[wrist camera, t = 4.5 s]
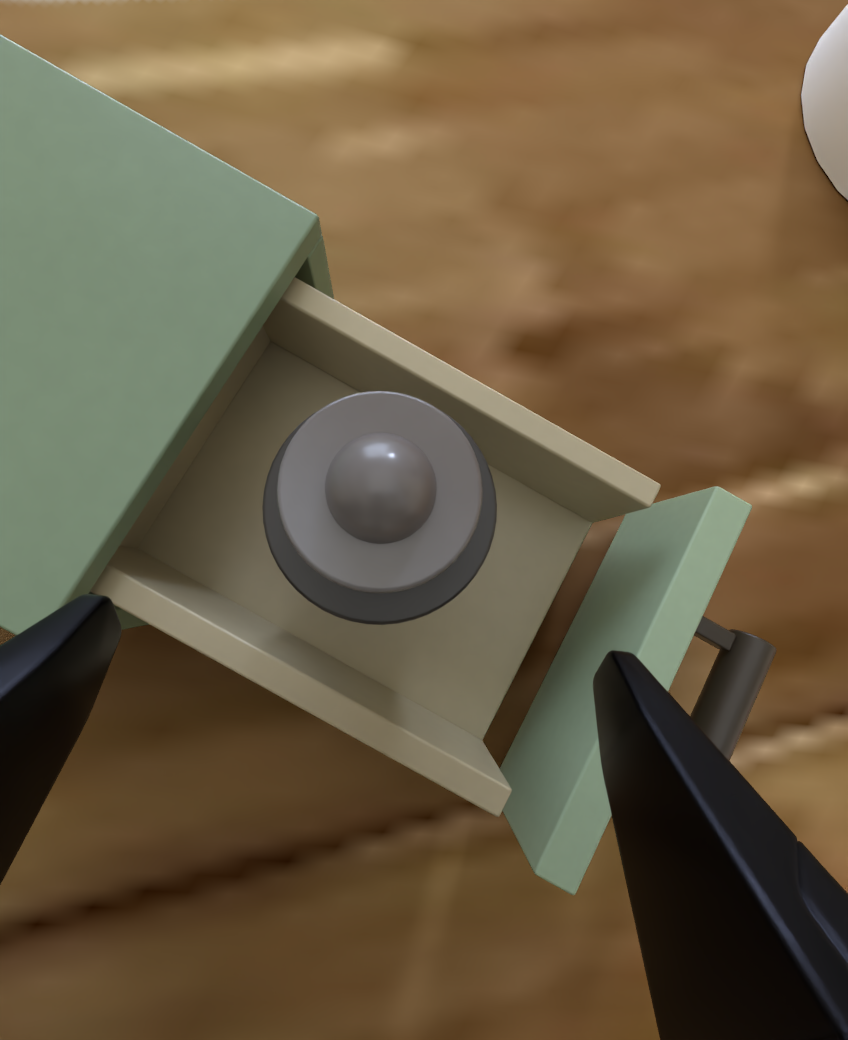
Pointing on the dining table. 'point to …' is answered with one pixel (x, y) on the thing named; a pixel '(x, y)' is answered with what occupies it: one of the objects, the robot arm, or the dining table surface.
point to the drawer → (467, 618)
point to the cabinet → (114, 317)
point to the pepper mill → (379, 508)
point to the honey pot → (829, 102)
